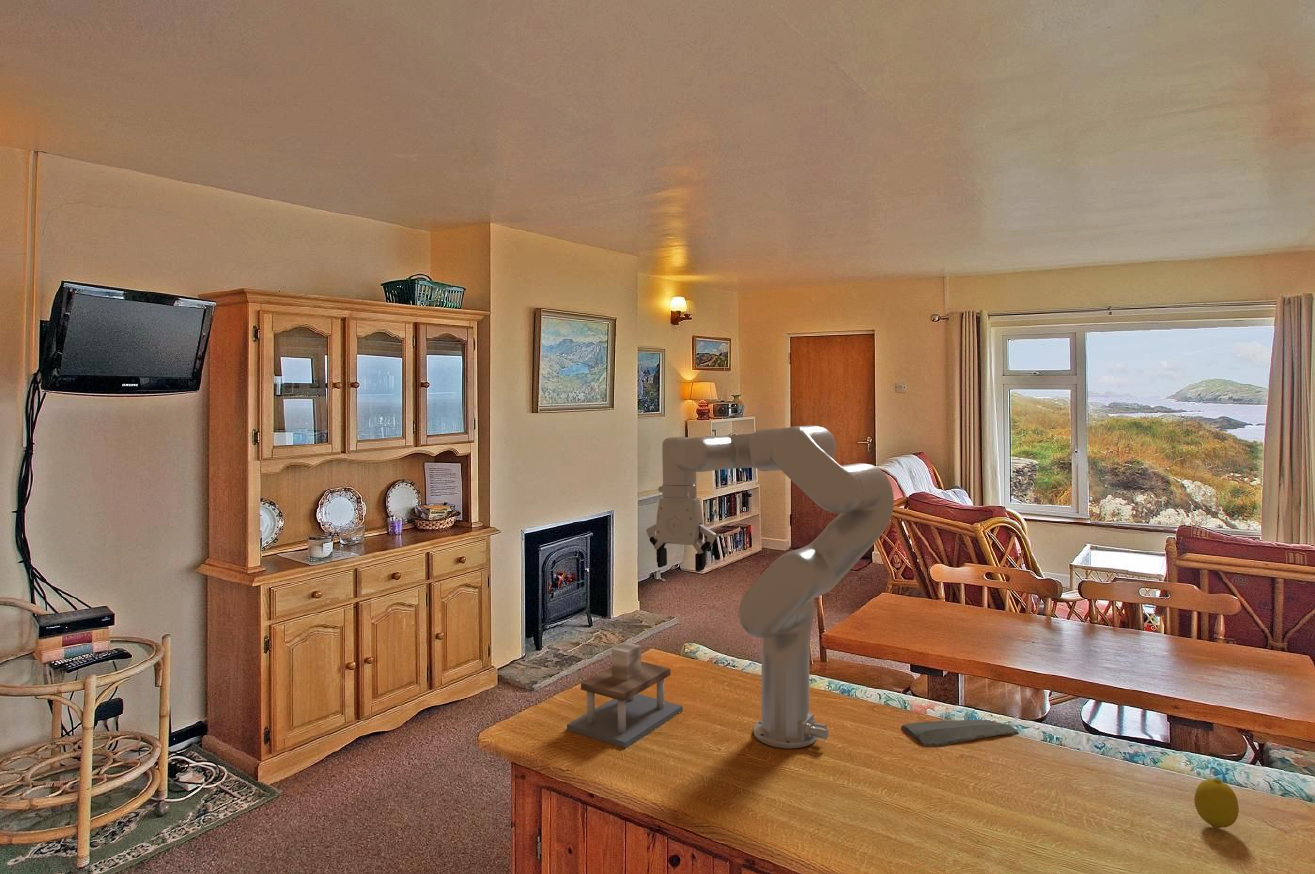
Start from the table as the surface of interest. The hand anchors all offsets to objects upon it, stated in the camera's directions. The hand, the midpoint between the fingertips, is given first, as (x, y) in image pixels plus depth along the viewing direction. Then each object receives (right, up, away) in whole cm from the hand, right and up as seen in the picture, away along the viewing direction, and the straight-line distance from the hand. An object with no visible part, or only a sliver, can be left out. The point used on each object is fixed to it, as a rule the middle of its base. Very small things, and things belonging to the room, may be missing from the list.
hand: (680, 568), depth 165 cm
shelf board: (-12, -23, -9) cm, 27 cm away
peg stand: (-12, -31, -9) cm, 34 cm away
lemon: (+83, -32, -49) cm, 101 cm away
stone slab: (+56, -32, -15) cm, 66 cm away
